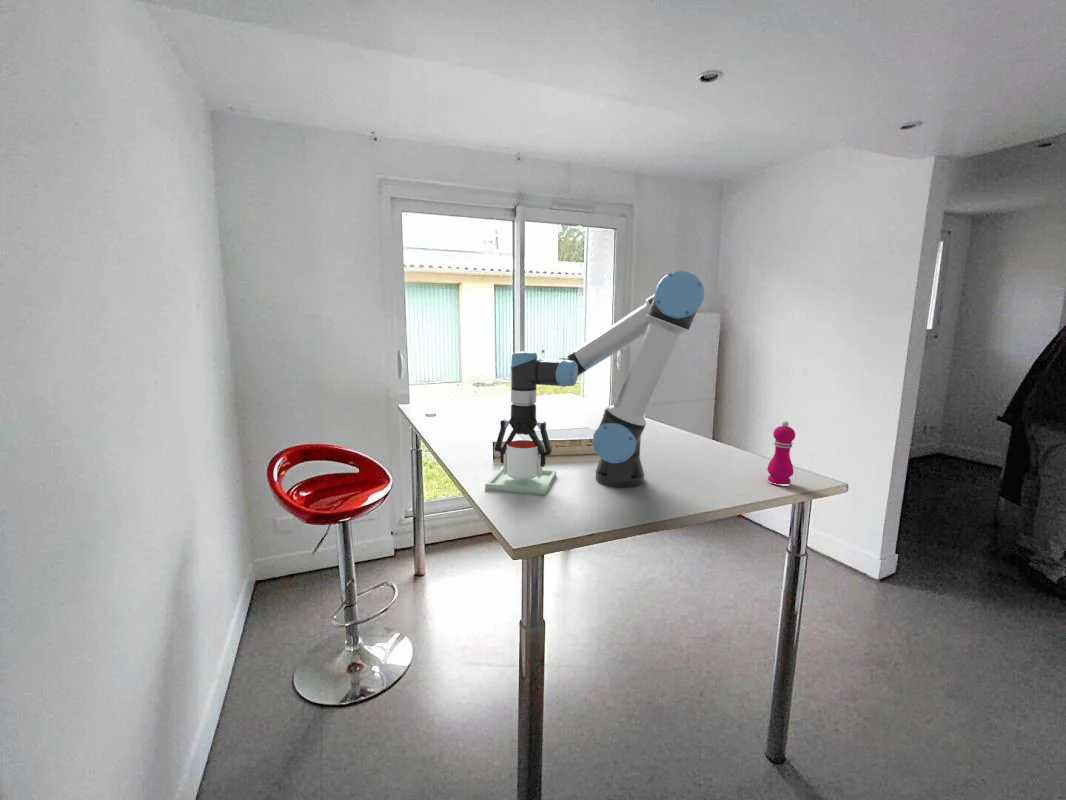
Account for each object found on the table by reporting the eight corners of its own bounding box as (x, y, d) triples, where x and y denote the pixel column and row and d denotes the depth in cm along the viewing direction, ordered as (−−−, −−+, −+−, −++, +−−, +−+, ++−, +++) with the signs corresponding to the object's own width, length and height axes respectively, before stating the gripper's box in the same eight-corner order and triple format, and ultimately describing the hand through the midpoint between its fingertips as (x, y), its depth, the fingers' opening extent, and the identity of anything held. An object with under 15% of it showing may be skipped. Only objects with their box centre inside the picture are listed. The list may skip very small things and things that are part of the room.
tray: (556, 475, 150) (556, 470, 149) (545, 495, 132) (545, 489, 132) (502, 471, 154) (502, 465, 153) (485, 489, 136) (485, 483, 136)
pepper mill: (794, 483, 146) (801, 421, 143) (788, 489, 141) (795, 425, 138) (770, 478, 151) (776, 417, 148) (762, 483, 146) (769, 421, 143)
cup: (545, 474, 144) (545, 443, 143) (527, 483, 136) (527, 450, 134) (518, 468, 149) (518, 438, 148) (499, 477, 141) (500, 445, 139)
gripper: (562, 403, 140) (561, 474, 144) (491, 399, 145) (491, 468, 149) (558, 407, 133) (556, 482, 137) (483, 403, 138) (483, 475, 141)
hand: (522, 474), depth 143 cm, fingers closed on cup, 10 cm apart
